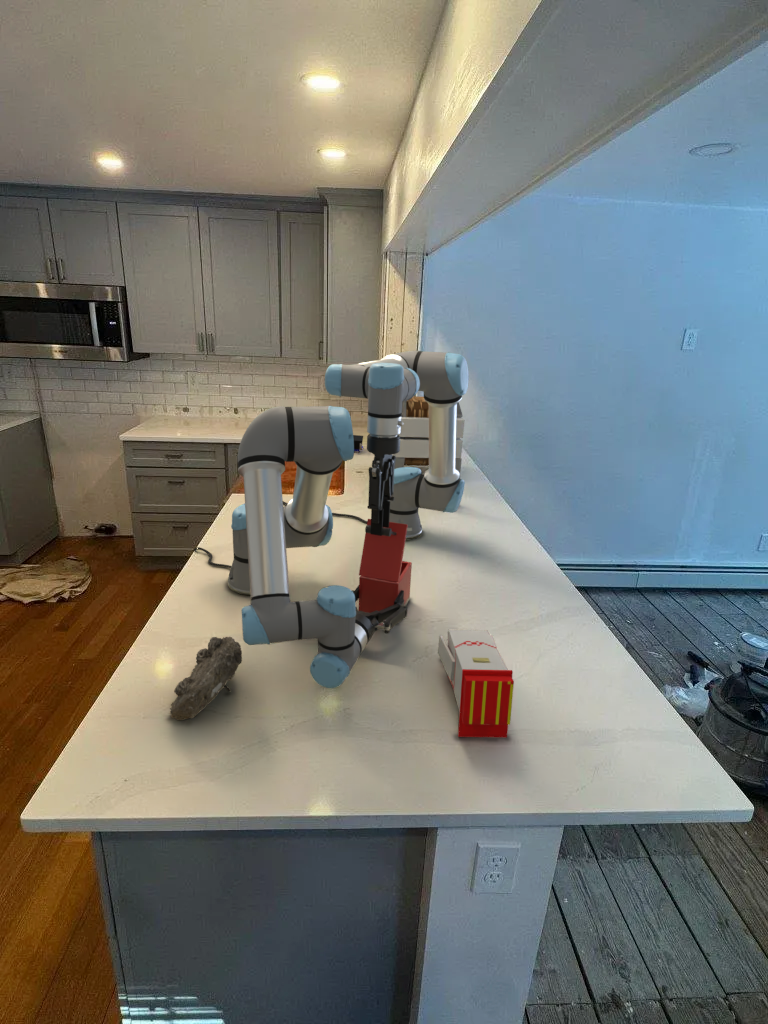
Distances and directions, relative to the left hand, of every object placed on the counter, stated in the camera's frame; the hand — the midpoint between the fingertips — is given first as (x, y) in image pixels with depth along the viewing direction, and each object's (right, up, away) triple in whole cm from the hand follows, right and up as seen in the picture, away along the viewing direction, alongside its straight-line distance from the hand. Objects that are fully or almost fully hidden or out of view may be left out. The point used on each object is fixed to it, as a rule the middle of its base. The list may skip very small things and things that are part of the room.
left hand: (381, 591), depth 145 cm
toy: (+18, -17, -27) cm, 37 cm away
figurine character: (-14, +54, +167) cm, 176 cm away
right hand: (0, +16, -10) cm, 19 cm away
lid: (0, +11, -4) cm, 11 cm away
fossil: (-35, -16, -29) cm, 48 cm away
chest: (+1, -5, +5) cm, 7 cm away
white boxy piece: (+18, +39, +130) cm, 137 cm away
